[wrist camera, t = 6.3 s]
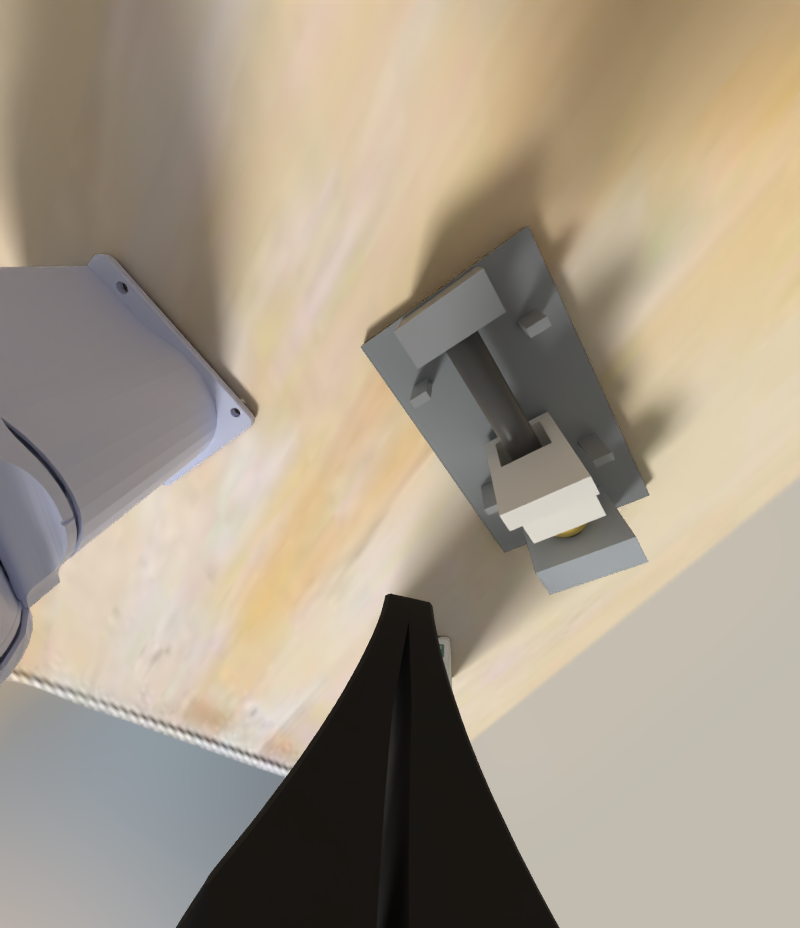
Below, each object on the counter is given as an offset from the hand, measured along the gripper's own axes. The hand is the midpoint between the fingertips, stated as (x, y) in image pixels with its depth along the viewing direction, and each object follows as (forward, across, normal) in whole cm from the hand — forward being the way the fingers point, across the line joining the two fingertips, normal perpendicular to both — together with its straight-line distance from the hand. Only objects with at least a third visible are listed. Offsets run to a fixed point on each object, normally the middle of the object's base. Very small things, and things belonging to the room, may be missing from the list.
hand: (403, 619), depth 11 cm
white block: (+10, -5, -2) cm, 11 cm away
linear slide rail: (+10, -4, -3) cm, 11 cm away
